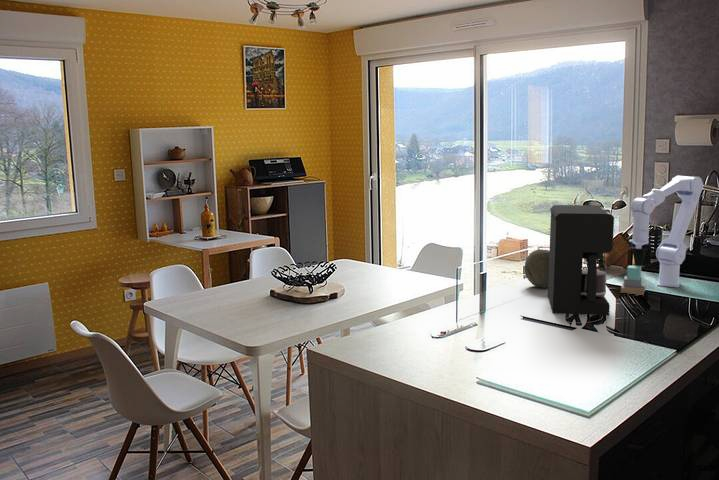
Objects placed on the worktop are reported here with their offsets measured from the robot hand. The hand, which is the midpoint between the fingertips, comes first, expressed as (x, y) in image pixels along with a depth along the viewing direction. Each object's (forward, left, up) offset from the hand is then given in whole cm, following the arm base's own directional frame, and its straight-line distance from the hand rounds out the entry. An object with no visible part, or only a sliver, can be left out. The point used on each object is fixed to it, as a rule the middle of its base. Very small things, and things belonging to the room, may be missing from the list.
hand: (639, 263), depth 264 cm
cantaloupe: (+10, -35, -11) cm, 38 cm away
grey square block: (+5, -2, -8) cm, 9 cm away
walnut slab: (+5, -1, -11) cm, 12 cm away
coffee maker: (+35, -17, -11) cm, 40 cm away
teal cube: (+5, -1, -5) cm, 7 cm away
